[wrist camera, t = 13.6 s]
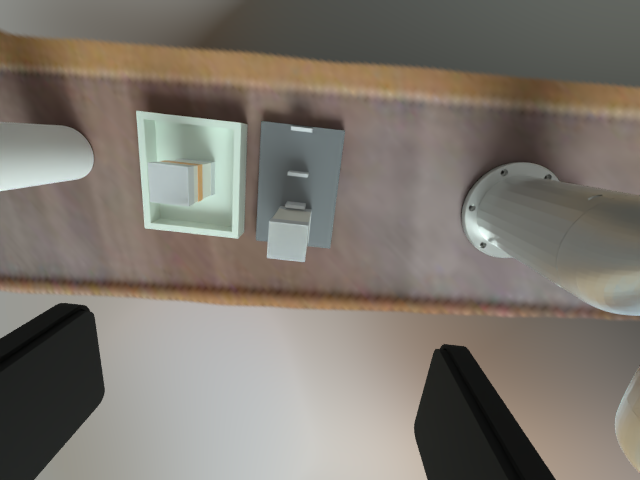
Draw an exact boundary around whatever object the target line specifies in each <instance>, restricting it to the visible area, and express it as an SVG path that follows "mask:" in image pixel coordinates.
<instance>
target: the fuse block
mask: <svg viewBox="0 0 640 480" xmlns="http://www.w3.org/2000/svg"><path fill="white" fill-rule="evenodd" d="M344 134H345V131H343V130H334V129H326V128H317V127H308V126H300V125H291V124H282V123H274V122H265V121H261V140H260V162H259V184H258V206H257V228H256V240H258V241H267V242H268V233H269V221H270V220H271V218H273V216H274V215H275V214H276V212H277V211H278V209H279V207H280V206H285V208H294V209H303V210H305V209H312V214H311V224H310V233H309V241H308V244H307V246H313V247H322V248H330V244H331V237H332V229H333V221H334V213H335V205H336V197H337V189H338V181H339V174H340V166H341V158H342V150H343V142H344Z"/></svg>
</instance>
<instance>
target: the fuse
mask: <svg viewBox="0 0 640 480" xmlns="http://www.w3.org/2000/svg"><path fill="white" fill-rule="evenodd" d="M311 214H312V209H305V210H303V209H294V208H285V206H280V207H279V209H278V211H277V212H276V214H275V215H274V216H273V218H271V220H270V221H269V233H268V250H267V258H272V259H281V260H291V261H300V262H305V258H306V250H307V244H308V241H309V233H310V224H311Z"/></svg>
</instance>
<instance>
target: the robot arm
mask: <svg viewBox="0 0 640 480" xmlns="http://www.w3.org/2000/svg"><path fill="white" fill-rule="evenodd" d="M501 171H502V173H501ZM544 177H545V178H544ZM470 205H471V207H470V208H469V206H470ZM462 226H463V229H464V233H465V235H466V236H467V238H468V240H469V241H470V242H471V243H472V244H473V246H475V247H476V248H477V249H478V250H480V251H482V252H483V253H485V254H487V255H490V256H493V257H499V258H515V259H517V260H518V261H520V262H521V263H523V264H525V265H526V266H528V267H529V268H531V269H532V270H534V271H536V272H537V273H539V274H540V275H542V276H544V277H545V278H547V279H548V280H550V281H552V282H553V283H555V284H556V285H558V286H560V287H561V288H563V289H564V290H566V291H568V292H569V293H571V294H572V295H574V296H576V297H577V298H579V299H581V300H582V301H584V302H586V303H588V304H590V305H592V306H594V307H596V308H598V309H601V310H604V311H607V312H611V313H616V314H622V315H633V316H640V195H634V194H629V193H623V192H617V191H611V190H606V189H600V188H594V187H589V186H583V185H577V184H572V183H566V182H560V181H559V180H558V178H557V177H556V176H555V175H554V174H553V173H552V172H551V171H550V170H548V169H547V168H545V167H543V166H541V165H538V164H533V163H528V162H513V163H508V164H504V165H501V166H499V167H496V168H494V169H492V170H491V171H489V172H488V173H486V174H485V175H483V176H482V177H481V178H480V179H479V180H478V181H477V182H476V183H475V184H474V186H473V187H472V188H471V190H470V191H469V193H468V195H467V197H466V199H465V202H464V205H463V208H462ZM104 392H105V388H104V381H103V375H102V367H101V360H100V353H99V345H98V338H97V331H96V324H95V317H94V314H93V313H92V312H90V310H89V308H88V307H87V306H85V305H78V304H68V303H60V304H58V305H55V306H54V307H52V308H50V309H49V310H47V311H45V312H44V313H43V314H40V315H39V316H37V317H35V318H34V319H32V320H31V321H29V322H27V323H26V324H24V325H22V326H21V327H19V328H17V329H16V330H14V331H13V332H11V333H9V334H7V335H6V336H4V337H2V338H1V339H0V480H34V479H35V478H36V477H37V476H38V474H39V473H40V472H41V471H42V470H43V469H44V468H45V467H46V465H47V464H48V463H49V462H50V461H51V460H52V458H53V457H54V456H55V455H56V454H57V453H58V452H59V450H60V449H61V448H62V447H63V446H64V445H65V443H66V442H67V441H68V440H69V439H70V438H71V437H72V435H73V434H74V433H75V432H76V431H77V429H78V428H79V427H80V426H81V425H82V424H83V423H84V422H85V420H86V419H87V418H88V417H89V416H90V415H91V413H92V412H93V411H94V410H95V409H96V408H97V406H98V405H99V404H100V403H101V401H102V398H103V396H104ZM615 432H616V437H617V440H618V442H619V445H620V447H621V449H622V451H623V453H624V454H625V456H626V457H627V459H628V460H629V462H630V463H631V464H632V465H633V467H634V468H635V469H636V470H637V471H638V472H639V473H640V365H639V367H638V369H637V371H636V373H635V375H634V377H633V379H632V380H631V382H630V384H629V386H628V388H627V390H626V392H625V394H624V396H623V398H622V400H621V403H620V405H619V408H618V410H617V413H616V418H615ZM414 433H415V438H416V442H417V445H418V448H419V452H420V455H421V459H422V462H423V466H424V469H425V472H426V476H427V479H428V480H556V479H555V478H554V476H553V475H552V473H551V472H550V470H549V469H548V467H547V466H546V465H545V463H544V461H543V460H542V459H541V457H540V456H539V454H538V453H537V451H536V450H535V448H534V447H533V445H532V444H531V442H530V441H529V439H528V438H527V436H526V435H525V433H524V432H523V430H522V429H521V427H520V426H519V424H518V423H517V421H516V420H515V418H514V417H513V415H512V414H511V413H510V411H509V409H508V408H507V407H506V405H505V403H504V402H503V400H502V399H501V398H500V396H499V395H498V393H497V392H496V390H495V389H494V387H493V386H492V384H491V383H490V381H489V380H488V379H487V377H486V375H485V374H484V372H483V371H482V369H481V368H480V366H479V365H478V363H477V362H476V360H475V359H474V358H473V356H472V354H471V353H470V351H469V350H468V349H467V348H466V347H464V346H456V345H447V344H444V345H442V346H441V348H440V349H435V351H434V353H433V357H432V361H431V364H430V368H429V371H428V376H427V379H426V383H425V386H424V390H423V394H422V397H421V401H420V405H419V409H418V412H417V416H416V420H415V424H414Z"/></svg>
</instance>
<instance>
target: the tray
mask: <svg viewBox="0 0 640 480" xmlns="http://www.w3.org/2000/svg"><path fill="white" fill-rule="evenodd" d="M136 115H137V128H138V142H139V156H140V169H141V183H142V197H143V210H144V224H145V228H148V229H157V230H166V231H175V232H184V233H193V234H202V235H211V236H220V237H229V238H239V237H240V236H241V235H242V234H243V232H244V219H245V188H246V158H247V127H248V124H244V123H238V122H229V121H220V120H212V119H203V118H194V117H186V116H177V115H168V114H160V113H151V112H142V111H136ZM180 158H186V159H195V160H203V161H212V162H215V194H214V195H212V196H208V197H206V198H204V199H203V200H201V201H199V202H196V203H194V204H193V205H191V206H181V205H172V204H163V203H154V202H150V192H149V177H148V162H160V161H164V160H176V159H180Z"/></svg>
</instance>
